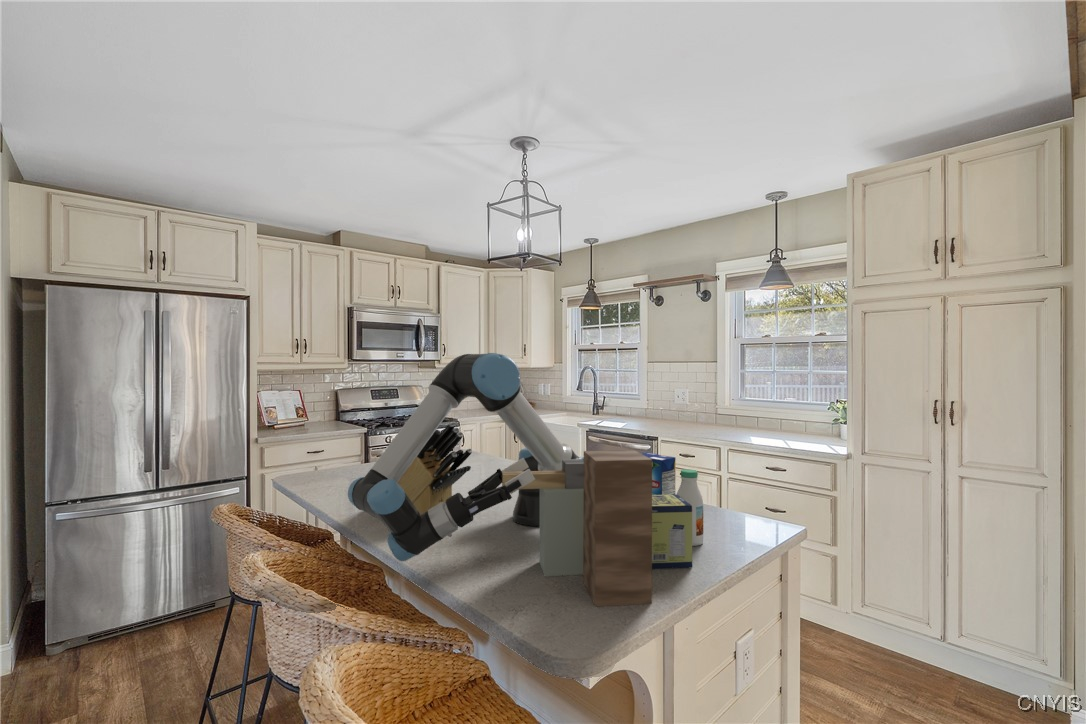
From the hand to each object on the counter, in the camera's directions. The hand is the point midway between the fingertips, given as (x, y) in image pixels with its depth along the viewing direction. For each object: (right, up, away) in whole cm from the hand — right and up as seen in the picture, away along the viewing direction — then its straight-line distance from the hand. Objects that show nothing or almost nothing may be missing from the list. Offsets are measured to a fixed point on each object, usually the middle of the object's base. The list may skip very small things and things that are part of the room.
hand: (529, 467), depth 124 cm
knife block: (-37, -25, +45) cm, 63 cm away
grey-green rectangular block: (+9, -25, +1) cm, 27 cm away
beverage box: (+37, -25, +31) cm, 54 cm away
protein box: (+32, -25, +6) cm, 41 cm away
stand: (+19, -25, -12) cm, 34 cm away
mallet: (+3, -5, +1) cm, 6 cm away
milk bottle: (+44, -25, +20) cm, 55 cm away
